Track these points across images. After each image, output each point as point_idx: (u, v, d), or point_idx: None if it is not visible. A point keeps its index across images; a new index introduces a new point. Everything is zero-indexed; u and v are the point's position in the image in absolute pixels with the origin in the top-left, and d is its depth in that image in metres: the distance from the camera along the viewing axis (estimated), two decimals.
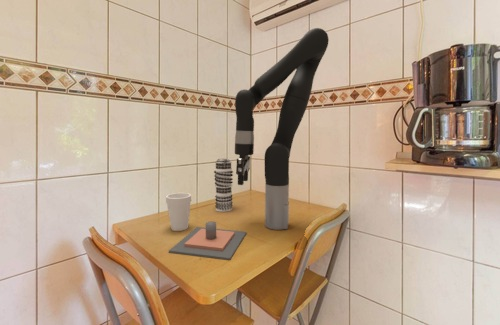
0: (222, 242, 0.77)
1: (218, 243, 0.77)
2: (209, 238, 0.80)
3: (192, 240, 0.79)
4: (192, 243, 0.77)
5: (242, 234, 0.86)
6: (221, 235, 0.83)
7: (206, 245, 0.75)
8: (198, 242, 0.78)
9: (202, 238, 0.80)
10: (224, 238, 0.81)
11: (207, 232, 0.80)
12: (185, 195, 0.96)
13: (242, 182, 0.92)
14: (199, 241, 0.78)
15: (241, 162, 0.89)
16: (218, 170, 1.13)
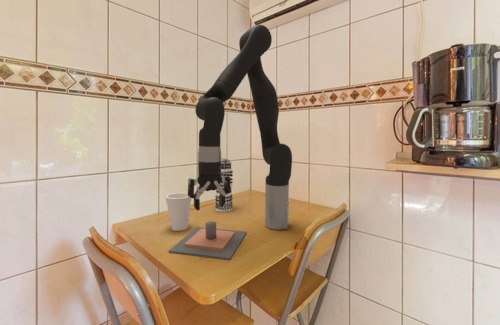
0: (222, 242, 0.77)
1: (218, 243, 0.77)
2: (209, 238, 0.80)
3: (192, 240, 0.79)
4: (192, 243, 0.77)
5: (242, 234, 0.86)
6: (221, 235, 0.83)
7: (206, 245, 0.75)
8: (198, 242, 0.78)
9: (202, 238, 0.80)
10: (224, 238, 0.81)
11: (207, 232, 0.80)
12: (185, 195, 0.96)
13: None
14: (199, 241, 0.78)
15: None
16: None
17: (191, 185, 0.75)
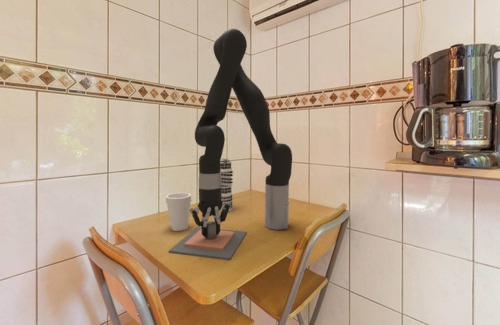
0: (222, 242, 0.77)
1: (218, 243, 0.77)
2: (209, 238, 0.80)
3: (192, 240, 0.79)
4: (192, 243, 0.77)
5: (242, 234, 0.86)
6: (221, 235, 0.83)
7: (206, 245, 0.75)
8: (198, 242, 0.78)
9: (202, 238, 0.80)
10: (224, 238, 0.81)
11: (207, 232, 0.80)
12: (185, 195, 0.96)
13: None
14: (199, 241, 0.78)
15: None
16: None
17: (195, 216, 0.76)
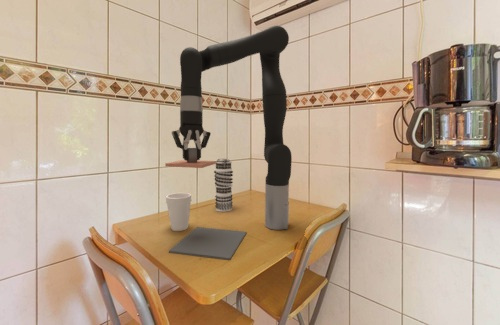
0: (202, 163, 0.81)
1: (198, 163, 0.80)
2: (189, 161, 0.83)
3: (173, 162, 0.82)
4: (173, 163, 0.80)
5: (242, 234, 0.86)
6: (202, 161, 0.86)
7: (186, 164, 0.79)
8: (179, 163, 0.81)
9: (184, 162, 0.83)
10: (205, 162, 0.84)
11: (188, 155, 0.83)
12: (185, 195, 0.96)
13: None
14: None
15: None
16: (218, 170, 1.13)
17: (175, 136, 0.79)
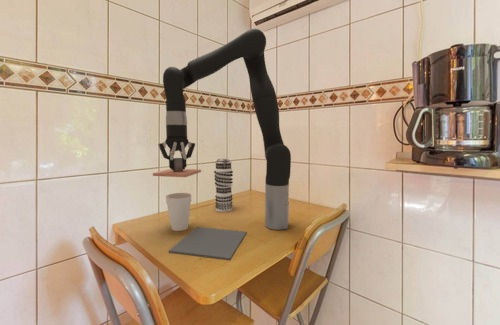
0: (186, 172, 0.88)
1: (182, 173, 0.87)
2: (175, 171, 0.90)
3: (160, 172, 0.89)
4: (159, 173, 0.87)
5: (242, 234, 0.86)
6: (187, 170, 0.93)
7: (171, 173, 0.86)
8: (165, 172, 0.88)
9: (170, 171, 0.91)
10: (190, 171, 0.91)
11: (174, 165, 0.90)
12: (185, 195, 0.96)
13: None
14: (166, 172, 0.89)
15: None
16: (218, 170, 1.13)
17: (162, 148, 0.87)
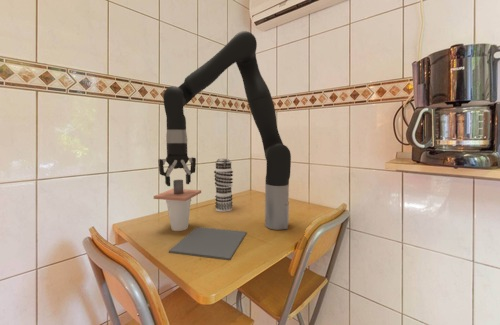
0: (187, 195, 0.89)
1: (183, 196, 0.88)
2: (176, 193, 0.91)
3: (161, 194, 0.90)
4: (160, 196, 0.88)
5: (242, 234, 0.86)
6: (188, 192, 0.94)
7: (172, 197, 0.87)
8: (166, 195, 0.89)
9: (171, 193, 0.92)
10: (190, 193, 0.92)
11: (174, 187, 0.91)
12: None
13: None
14: (167, 195, 0.90)
15: None
16: (218, 170, 1.13)
17: (160, 164, 0.87)
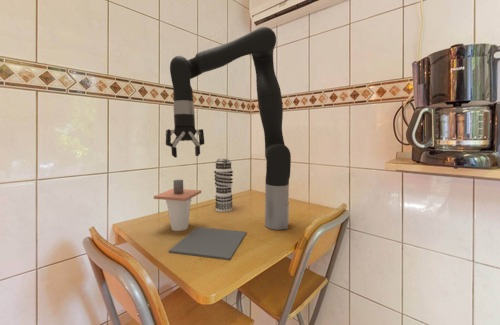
0: (187, 195, 0.89)
1: (183, 196, 0.88)
2: (176, 193, 0.91)
3: (161, 194, 0.90)
4: (160, 196, 0.88)
5: (242, 234, 0.86)
6: (188, 192, 0.94)
7: (172, 197, 0.87)
8: (166, 195, 0.89)
9: (171, 193, 0.92)
10: (190, 193, 0.92)
11: (174, 187, 0.91)
12: None
13: None
14: (167, 195, 0.90)
15: None
16: (218, 170, 1.13)
17: (168, 134, 0.86)
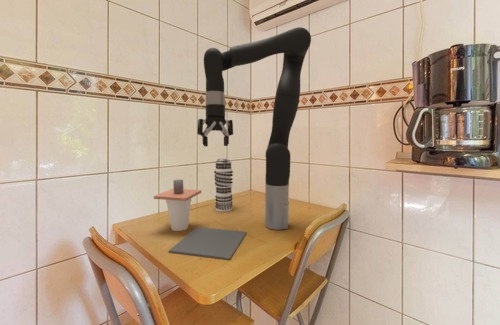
0: (187, 195, 0.89)
1: (183, 196, 0.88)
2: (176, 193, 0.91)
3: (161, 194, 0.90)
4: (160, 196, 0.88)
5: (242, 234, 0.86)
6: (188, 192, 0.94)
7: (172, 197, 0.87)
8: (166, 195, 0.89)
9: (171, 193, 0.92)
10: (190, 193, 0.92)
11: (174, 187, 0.91)
12: None
13: None
14: (167, 195, 0.90)
15: None
16: (218, 170, 1.13)
17: (200, 123, 0.89)
